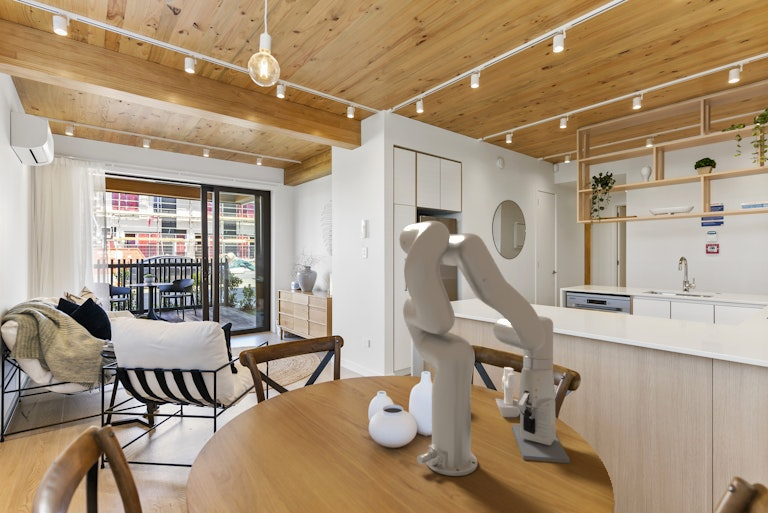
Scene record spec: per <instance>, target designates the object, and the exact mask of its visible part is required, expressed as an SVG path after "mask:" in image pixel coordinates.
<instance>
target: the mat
mask: <svg viewBox="0 0 768 513" xmlns="http://www.w3.org/2000/svg"><path fill="white" fill-rule="evenodd" d="M511 429H512V433H513V435H514V438H515V441H516V444H517V447H518V449H519V452H520V454H521V458H522V460H525V461H535V462H537V461H538V462H549V463H551V462H552V463H559V464H560V463H561V464H570V463H571V459H570V457H569V455H568V454H567V452H566V450H565V448H564V447H563V445H562V443H561V442H560V440H559V439H558V437H557V436H556V438H555V439H554V441H553V443H552V444H551V446H550V445H546V444H542V443H539V442H535V441H531V440H527V439H523V438H521V437H520V424H519V425H518V424H511Z"/></svg>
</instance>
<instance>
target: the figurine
mask: <svg viewBox="0 0 768 513" xmlns="http://www.w3.org/2000/svg"><path fill="white" fill-rule="evenodd" d="M516 378H517V376H516V374H515V373H514V368H512V367H509V366H508V367H507V366H504V367H503V376H502V379H501V390H502V391H503V393H504V394H503V396H504V397H503V398H495V399H494V401H495V403H496V404H497V407H498V410H499V412H500V415H502V417H503V418H518V417H519V416H520V409H519V408H518V404H519V399H517V398H514V391H515V389H516V387H517V385H516V383H517V382H516V381H517V379H516Z"/></svg>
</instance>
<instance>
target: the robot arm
mask: <svg viewBox="0 0 768 513" xmlns="http://www.w3.org/2000/svg"><path fill="white" fill-rule="evenodd" d="M399 245H400V247H401V250H402V251H403V252H404V253H405V254H407V255H406V257H405V258H406V259H405V262H404V269H403V274H404V275H403V276H404V281H405V285H406V288H407V290H408V294H409V296H408V297H407V298H406V300H405V301H404V304H403V308H402V310H403V318H404V322H405V326H406V327H407V330H408V333H409V334H410V337H411V339H412V342H413V345H414V347H415V350H416V351H417V353H418V355H419V357H420V358H421V359H422V360H423V361H424V362H425V363H426V364H429V365H430V366H432V367H433V368H435V375H434V377H433V381H432V384H431V385H432V386H431V444H429V445H428V450H427V451H426V452H425V453H422V454H419V455H417V456H416V461H417V464H419V465H423V464H426V465H427V467H428V468H430V469H431V470H432V471H434V472H435V473H438V474H441V475H445V476H449V477H450V476H451V477H460V476H462V477H463V476H466V475H469V474H471V473H474V471H475V470H476V469H477V467H478V459H477V457H476V455H475V454H474V453H473V452H472V450H471V449H472V442H471V441H472V434H471V432H472V394H471V393H472V380H473V378H472V377H473V374H474V367H475V364H476V363H475V361H476V358H475V357H476V356H475V350H474V348H473V346H472V345H471V344H470V342H469V341H468V340H467V339H465V338H464V337H462V336H461V335H457V334H455V333H453V332H450V331H451V330H452V329H453V327H454V325H455V320H456V316H455V311H454V308H453V305H452V303H451V300H450V298H449V296H448V292H447V290H446V287H445V285H444V282H443V279H442V275H441V269H440V268H441V265H445V266H449V267H450V266H453V267H454V266H455V267H458V269H459V270H460V271H461V273H462V275H463V277H464V278H465V280H466V282H467V284H468V285H469V288H470V289H471V291H472V292H473V294H474V296H475V297H476V299H478V300H480V301H481V302H482V303H484V305H486V306H487V307H489V308H491V309H493V310H495V311H497V312H498V313H499V314H500V315H501V316H502V317H500V318H498V319H497V320H496V322H495V323H494V325H493V329H492V330H493V331H492V332H493V335H494V337H495V338H496V339H497V341H499V342H501V343H502V344H504V345H508V346H511V347H515V348H518V349H519V350H522V351H523V352H522V354H523V356H522V357H523V358H522V359H523V360H522V361H523V363H522V365H523V367H522V368H521V374H520V378H519V388H518V389H519V392H518V401H519V404H518V408H519V409H520V411H521V413H522V416H523V429H524V430H525V431H527V432H529V433H532V434H535V419H534V414H535V411H536V408H538V407H540V404H542V403H544V402H546V401H549V400H551V399H553V400H555V399H556V397H557V392H556V391H555V376H554V321H553V319H552V318H549V317H547V316H541V315H540V316H539V315H538V313H537V311H536V309H534V307H533V306H532V305H531V303H530V302H529V301H528V300H527V299H526V298H525V297H524V296H523V295H522V294H520V292H518V290H517V289H516V288H514V287H513V285H511V283H509V282H508V281H507V280H506V279H505V277H504V275H503V274H502V272H501V270H500V269H499V266H498V264H497V263H496V261H495V259H494V258H493V256H492V254H491V253H490V250H489V249H488V247H487V245H486V244H485V241H484V240H483V239H482V238H481V237H480V236H479V235H477V234H475V233H472V232H471V233H456V234H454V233H453V234H452V233H450V230H449V228H448V227H447V226H446V224H444V223H443V222H441V221H438V220H426V221H422V222H416V223H412V224H409V225H407V226H406V227H405V228H403V229H402V230H401V232H400V235H399ZM555 401H556V400H555ZM527 402H530V403H532V406H531V405H528V404H527ZM528 407H529V408H532V409H531V412H529V410H528Z"/></svg>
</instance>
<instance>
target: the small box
mask: <svg viewBox="0 0 768 513" xmlns="http://www.w3.org/2000/svg"><path fill="white" fill-rule="evenodd" d="M527 404H528V405H531V406H532V403H530V402H527ZM531 409H532V408H529V407H528V410H529V412H531ZM519 419H520V420H519V425H520V437H521V438H523V439H527V440H531V441H535V442H539V443H542V444H546V445H550V446H551V444H552V443H553V441H554V439H555V438H556V437H557V435H556V430H557V429H556V428H557V427H556V400H553V399H551V400H549V401H546V402H544V403H542V404H540V407H538V408H536V411H535V414H534V419H535V434H532V433H529V432H527V431H525V430H524V429H523V416H522V413H521V411H520V414H519Z"/></svg>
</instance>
